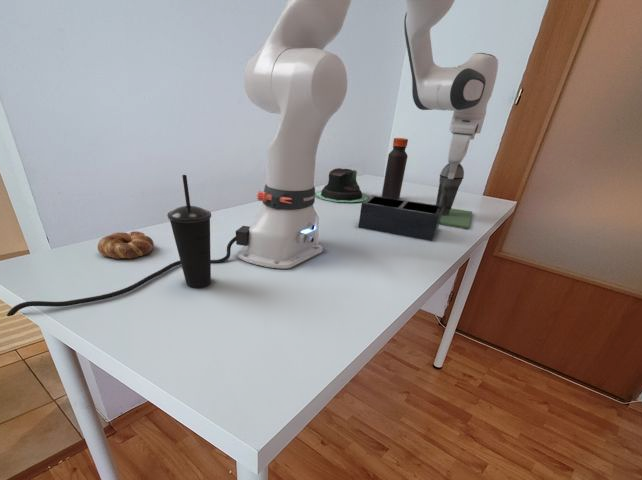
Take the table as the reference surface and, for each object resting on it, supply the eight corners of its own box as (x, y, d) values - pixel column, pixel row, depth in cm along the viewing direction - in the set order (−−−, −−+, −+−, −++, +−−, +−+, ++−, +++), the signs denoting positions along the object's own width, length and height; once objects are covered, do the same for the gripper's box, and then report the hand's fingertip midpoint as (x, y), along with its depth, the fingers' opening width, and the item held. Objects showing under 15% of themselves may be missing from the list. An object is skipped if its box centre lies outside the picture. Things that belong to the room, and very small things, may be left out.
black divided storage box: (432, 241, 101) (438, 215, 97) (358, 227, 108) (361, 203, 104) (437, 230, 110) (444, 206, 105) (368, 218, 116) (372, 195, 112)
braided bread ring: (98, 263, 78) (93, 246, 76) (100, 246, 87) (95, 230, 84) (156, 258, 82) (153, 242, 80) (153, 241, 90) (150, 226, 88)
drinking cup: (201, 271, 78) (189, 169, 66) (225, 282, 74) (216, 176, 62) (171, 282, 73) (151, 174, 61) (194, 295, 69) (178, 182, 57)
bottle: (378, 196, 141) (387, 137, 129) (393, 196, 142) (404, 137, 131) (386, 201, 135) (397, 139, 124) (402, 200, 137) (414, 140, 125)
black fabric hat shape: (324, 185, 148) (372, 192, 144) (311, 217, 141) (361, 226, 137) (323, 151, 135) (376, 158, 131) (308, 185, 128) (364, 194, 124)
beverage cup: (455, 217, 119) (475, 148, 107) (433, 216, 119) (451, 147, 107) (449, 211, 125) (467, 145, 113) (428, 210, 125) (444, 143, 113)
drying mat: (467, 229, 112) (468, 226, 111) (409, 219, 117) (409, 216, 117) (471, 213, 127) (472, 211, 126) (419, 205, 132) (420, 203, 132)
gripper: (458, 122, 115) (445, 170, 123) (451, 125, 100) (437, 179, 108) (479, 124, 113) (465, 173, 121) (475, 127, 98) (459, 182, 106)
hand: (452, 176), depth 114 cm, fingers open, 8 cm apart
